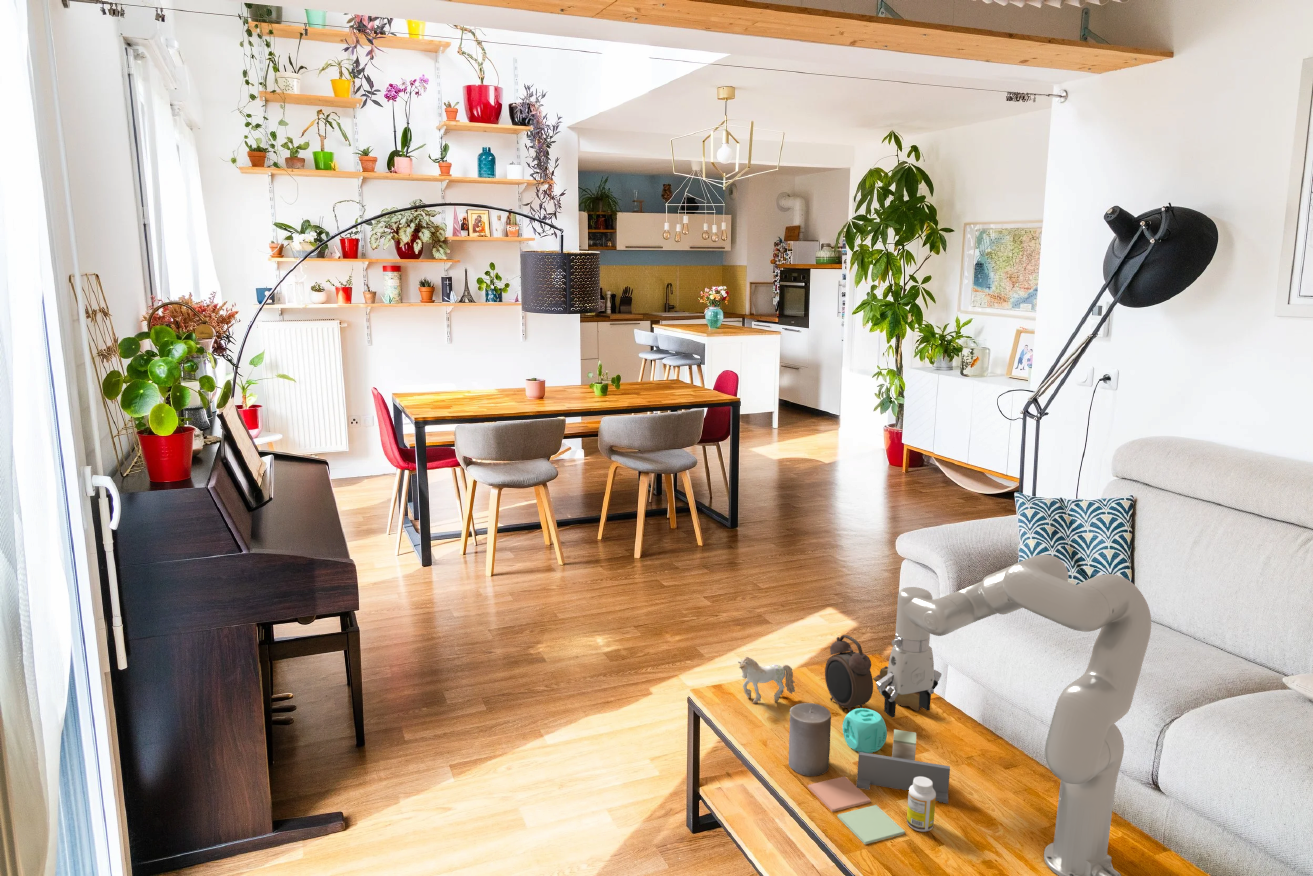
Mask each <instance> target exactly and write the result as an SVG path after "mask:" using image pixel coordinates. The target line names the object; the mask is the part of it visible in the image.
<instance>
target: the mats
mask: <svg viewBox="0 0 1313 876" xmlns="http://www.w3.org/2000/svg"><path fill="white" fill-rule="evenodd" d="M807 788H808V789H809V791H811V792H812V793H813V794H814V795H815V796H816V797H817V798H818V799H819V801H821V802H822V803H823V804H824V805H825V806H826V807H827V808H828V809H829V810H830V812H832V813H834V812H837V811H841V810H846V809H849V808H853V807H858V806H862V805H865V804H869V803H871V801H872V800H871V799H870V798H869V797H868V795H866V794H865V793H864V792H863V791H862V790H861V789H860V788H857V787H856V784H854V783H853V782H852V781H851V780H850V779H848V777H846V776H845V775H844V776H841V777H835V778H832V779H828V780H823V781H819V782H814V783H810V784H808V785H807ZM836 816H837V819H839V821H841V822H842V823H843V824H844V825H845V826H846V827H847V828H848V829H849V830H850V832H852V833H853V835H855V837H856V838H858V839H859V840H860V841H861V843H863V844H864V845H868V844H872V843H875V842H879V841H880V842H881V841H883V840H887V839H891V838H894V836H895V837H898V836H901V835H905V834H906V830H904V828H902V827H901V826H900V825H898V824H897V822H895V820H893V819H892V818H891V817H890V816H889V815H888V814H887V813H886V812H885V811H884V810H882V809H881V807H879V806H878V805H877V804H875V805H874V804H873V805H871V806H866V807H861V808H859V809H854V810H851V811H847V812H842V813H838V814H837V815H836ZM890 837H891V838H890Z"/></svg>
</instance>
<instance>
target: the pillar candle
mask: <svg viewBox="0 0 1313 876" xmlns="http://www.w3.org/2000/svg"><path fill="white" fill-rule="evenodd" d="M831 724H832V714H831V711H830V710H829V709H828V708H827V707H825V706H823V705H821V704H818V703H812V702H803V703H802V702H801V703H797V704H795V705H794V706H792V707H790V709H789V734H788V735H789V737H788V766H789V768H790V769H792V770H793V771H794V772H796V774H800V775H803V776H808V777H815V776H820V775H823V774H826V773H827V772H828V771H829V769H830V753H831V752H830V750H831V729H832V728H831V726H832V725H831Z"/></svg>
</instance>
